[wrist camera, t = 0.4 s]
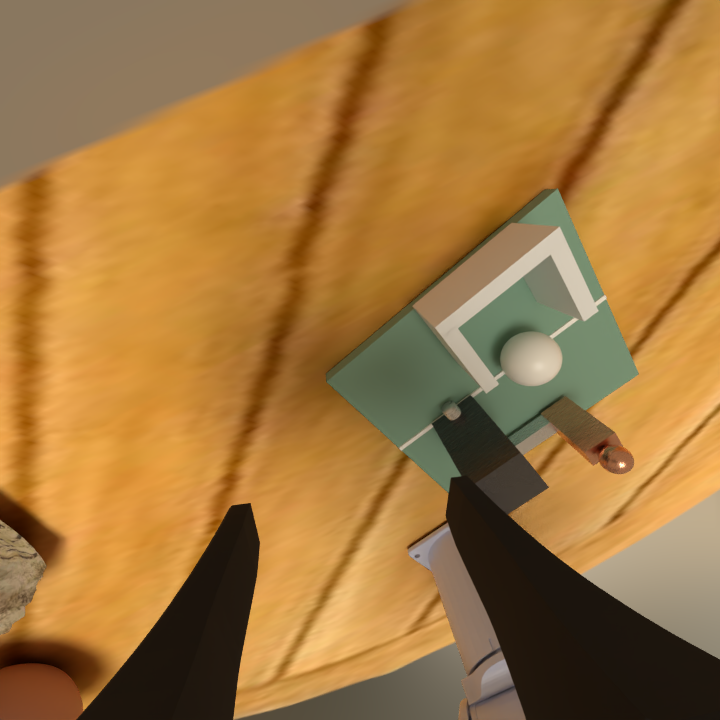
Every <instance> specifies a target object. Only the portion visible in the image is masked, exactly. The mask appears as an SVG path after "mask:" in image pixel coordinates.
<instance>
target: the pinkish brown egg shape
mask: <svg viewBox="0 0 720 720" xmlns="http://www.w3.org/2000/svg"><path fill="white" fill-rule="evenodd" d="M82 712H83V704H82V700H81V696H80V693H79V690H78V688H77V686H76V684H75V683H74V681H73V680H72V679H71V678H70V677H69V676H68V675H67V674H66V673H65V672H63V671H62V670H60V669H58V668H56V667H54V666H51V665H46V664H40V663H26V664H18V665H12V666H8V667H4V668H1V669H0V720H76V719H77V718H78V717H79V716H80V715H81V714H82Z"/></svg>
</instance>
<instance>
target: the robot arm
mask: <svg viewBox="0 0 720 720" xmlns="http://www.w3.org/2000/svg"><path fill="white" fill-rule="evenodd" d="M446 519H447V522H448V523H446V524H445V525H443V526H442V527H440V528H439V529H437V530H436V531H434V532H433V533H431V534H430V535H428V536H427V537H425V538H424V539H422V540H421V541H419V542H418V543H416V544H415V545H413V546H412V547H410V548H409V549H408V555H409V556H410V557H411V558H413V559H414V560H416V561H417V562H419V563H420V564H422V565H423V566H424V567H426V568H427V569H429V570H430V571H432V573H433V576H434V579H435V582H436V585H437V588H438V591H439V594H440V597H441V600H442V603H443V606H444V609H445V612H446V615H447V618H448V621H449V623H450V626H451V629H452V632H453V635H454V638H455V641H456V644H457V647H458V650H459V653H460V656H461V659H462V662H463V665H464V668H465V671H466V674H467V677H466V678H464V679H462V681H461V682H462V685H463V688H464V691H465V694H466V698H465V699H463V700H462V701H461V703H460V707H459V718H458V720H720V659H718V658H716V657H714V656H712V655H710V654H709V653H707V652H705V651H703V650H701V649H699V648H698V647H696V646H694V645H692V644H690V643H688V642H686V641H685V640H683V639H681V638H679V637H678V636H676V635H674V634H672V633H671V632H668V631H667V630H665V629H663V628H662V627H660V626H659V625H657V624H655V623H654V622H652V621H650V620H649V619H647V618H645V617H644V616H642V615H640V614H639V613H637V612H636V611H634V610H632V609H631V608H629V607H628V606H626V605H624V604H623V603H622V602H620V601H618V600H617V599H615V598H614V597H612V596H611V595H609V594H608V593H606V592H605V591H603V590H602V589H600V588H599V587H597V586H596V585H594V584H593V583H591V582H590V581H588V580H587V579H586V578H584V577H583V576H582V575H580V574H579V573H578V572H576V571H575V570H573V569H572V568H571V567H569V566H568V565H567V564H565V563H564V562H563V561H561V560H560V559H559V558H558V557H556V556H555V555H554V554H552V553H551V552H550V551H549V550H548V549H546V548H545V547H544V546H543V545H541V544H540V543H539V542H538V541H537V540H535V539H534V538H533V537H532V536H531V535H530V534H528V533H527V532H526V531H525V530H524V529H523V528H522V527H520V526H519V525H518V524H517V523H516V522H515V521H514V520H513V519H512V518H511V517H509V516H508V515H507V514H506V513H505V512H504V511H503V510H502V509H501V508H500V507H499V506H498V505H497V504H496V503H494V502H493V501H492V500H491V499H490V498H489V497H488V496H487V495H486V494H485V493H484V492H483V491H482V490H481V489H480V488H479V487H478V486H477V485H476V484H475V483H474V482H473V481H472V480H471V479H470V478H469V477H468V476H459V477H451V480H450V488H449V495H448V503H447V510H446ZM259 547H260V541H259V537H258V533H257V528H256V524H255V520H254V516H253V512H252V508H251V503H248V504H240V505H232V506H231V507H230V508H229V510H228V512H227V514H226V516H225V517H224V519H223V521H222V523H221V525H220V526H219V528H218V530H217V532H216V533H215V535H214V537H213V538H212V540H211V542H210V543H209V545H208V547H207V548H206V550H205V552H204V553H203V555H202V556H201V558H200V560H199V561H198V563H197V564H196V566H195V568H194V569H193V571H192V572H191V574H190V575H189V577H188V578H187V580H186V581H185V583H184V584H183V586H182V587H181V589H180V590H179V592H178V593H177V594H176V596H175V597H174V599H173V600H172V602H171V603H170V605H169V606H168V607H167V609H166V610H165V612H164V613H163V614H162V616H161V617H160V619H159V620H158V621H157V623H156V624H155V625H154V627H153V628H152V629H151V631H150V632H149V633H148V634H147V636H146V637H145V638H144V640H143V641H142V642H141V644H140V645H139V646H138V647H137V649H136V650H135V651H134V652H133V654H132V655H131V656H130V657H129V658H128V660H127V661H126V662H125V663H124V665H123V666H122V667H121V668H120V669H119V671H118V672H117V673H116V674H115V676H114V677H113V678H112V679H111V680H110V682H109V683H108V684H107V685H106V686H105V687H104V689H103V690H102V691H101V692H100V693H99V694H98V696H97V697H96V698H95V699H94V700H93V701H92V702H91V704H90V705H89V706H88V707H87V708H86V709H85V710H84V711H83V712H82V714H81V715H80V716H79V717H78V718H77V719H76V720H233V716H234V707H235V699H236V690H237V681H238V674H239V668H240V661H241V656H242V650H243V645H244V640H245V635H246V630H247V625H248V620H249V614H250V609H251V604H252V599H253V594H254V588H255V583H256V578H257V569H258V559H259Z"/></svg>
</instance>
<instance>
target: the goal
mask: <svg viewBox="0 0 720 720" xmlns="http://www.w3.org/2000/svg"><path fill="white" fill-rule="evenodd" d="M522 277H523V278H524V279H525V281H526V283H527V285H528V287H529V288H530V290H531V292H532V294H533V295H534V297H535V299H536V301H537V302H538V303H540V304H543V305H545V306H548V307H550V308H552V309H555V310H557V311H560V312H562V313H564V314H567V315H569V316H572V317H574V318H576V319H579V320H581V321H586V320H587V319H588V318H590V317H591V316H592V315H594V314H595V313H597V312H598V309H597V306H596V304H595V302H594V300H593V298H592V296H591V293H590V291H589V289H588V287H587V285H586V283H585V280H584V278H583V276H582V274H581V272H580V270H579V267H578V265H577V263H576V261H575V259H574V257H573V254H572V252H571V250H570V248H569V246H568V244H567V241H566V239H565V237H564V235H563V233H562V230H561V228H560V227H559V226H546V225H533V224H520V223H511V224H509V225H508V226H507V227H506V228H505V229H503V230H502V231H501V232H500V233H499V234H497V235H496V236H495V237H494V238H493V239H491V240H490V241H489V242H488V243H487V244H486V245H484V246H483V247H482V248H481V249H480V250H478V251H477V252H476V253H475V254H474V255H472V256H471V257H470V258H469V259H468V260H466V261H465V262H464V263H463V264H462V265H460V266H459V267H458V268H457V269H456V270H455V271H453V272H452V273H451V274H450V275H449V276H447V277H446V278H445V279H444V280H443V281H441V282H440V283H439V284H438V285H437V286H435V287H434V288H433V289H432V290H431V291H429V292H428V293H427V294H426V295H425V296H424V297H422V298H421V299H420V300H419V301H418V302H416V303H415V304H414V305H413V308H414V309H415V310H416V311H417V313H418V314H419V315H420V316H421V318H422V319H423V320H424V322H425V323H426V324H427V325H428V327H429V328H430V329H431V330H432V332H433V333H434V334H435V335H436V337H437V338H438V339H439V340H440V342H441V343H442V344H443V345H444V347H445V348H446V349H447V351H448V352H449V353H450V354H451V356H452V357H453V358H454V359H455V361H456V362H457V363H458V364H459V365H460V366H461V367H462V368H463V370H464V371H465V372H466V373H467V374H468V375H469V376H470V377H471V378H472V379H473V380H474V381H475V382H476V383H477V384H478V385H479V386H480V387H481V388H482V389H483V391H484V392H485V393H486V394H487V393H488V392H489V391H491V390H492V389H493V388H495V387H496V386H497V385H499V383H498V382H497V381H496V379H495V378H494V377H493V375H492V374H491V373H490V371H489V370H488V368H487V367H486V366H485V364H484V363H483V362H482V360H481V359H480V358H479V356H478V355H477V354H476V352H475V351H474V350H473V348H472V347H471V346H470V344H469V343H468V341H467V340H466V339H465V337H464V336H463V335H462V333H461V332H460V331H459V329H458V328H459V327H460V326H462V325H463V324H464V323H465V322H467V321H468V320H469V319H470V318H472V317H473V316H474V315H475V314H477V313H478V312H479V311H480V310H482V309H483V308H484V307H485V306H487V305H488V304H489V303H490V302H492V301H493V300H494V299H495V298H497V297H498V296H499V295H501V294H502V293H503V292H504V291H506V290H507V289H508V288H509V287H511V286H512V285H513V284H514V283H516V282H517V281H518V280H519V279H521V278H522Z"/></svg>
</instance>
